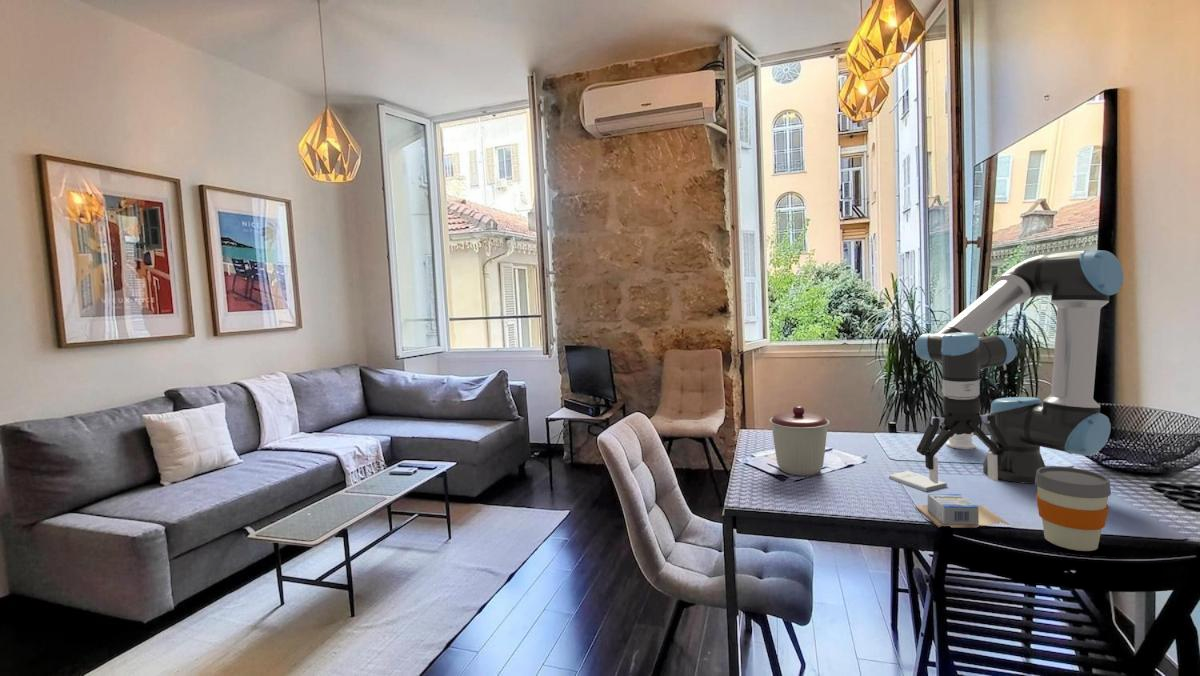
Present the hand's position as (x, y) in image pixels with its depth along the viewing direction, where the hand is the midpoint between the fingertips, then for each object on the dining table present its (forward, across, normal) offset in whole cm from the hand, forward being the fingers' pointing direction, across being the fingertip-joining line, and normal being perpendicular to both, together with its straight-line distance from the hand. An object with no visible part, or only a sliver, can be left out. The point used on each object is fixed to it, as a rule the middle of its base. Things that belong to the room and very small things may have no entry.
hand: (963, 480), depth 134 cm
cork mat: (+9, -1, 0) cm, 9 cm away
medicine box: (+6, -4, -7) cm, 10 cm away
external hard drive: (+10, 0, +24) cm, 26 cm away
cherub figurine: (+11, +29, +58) cm, 65 cm away
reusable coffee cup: (+10, +15, -14) cm, 22 cm away
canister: (+9, -31, +36) cm, 48 cm away
